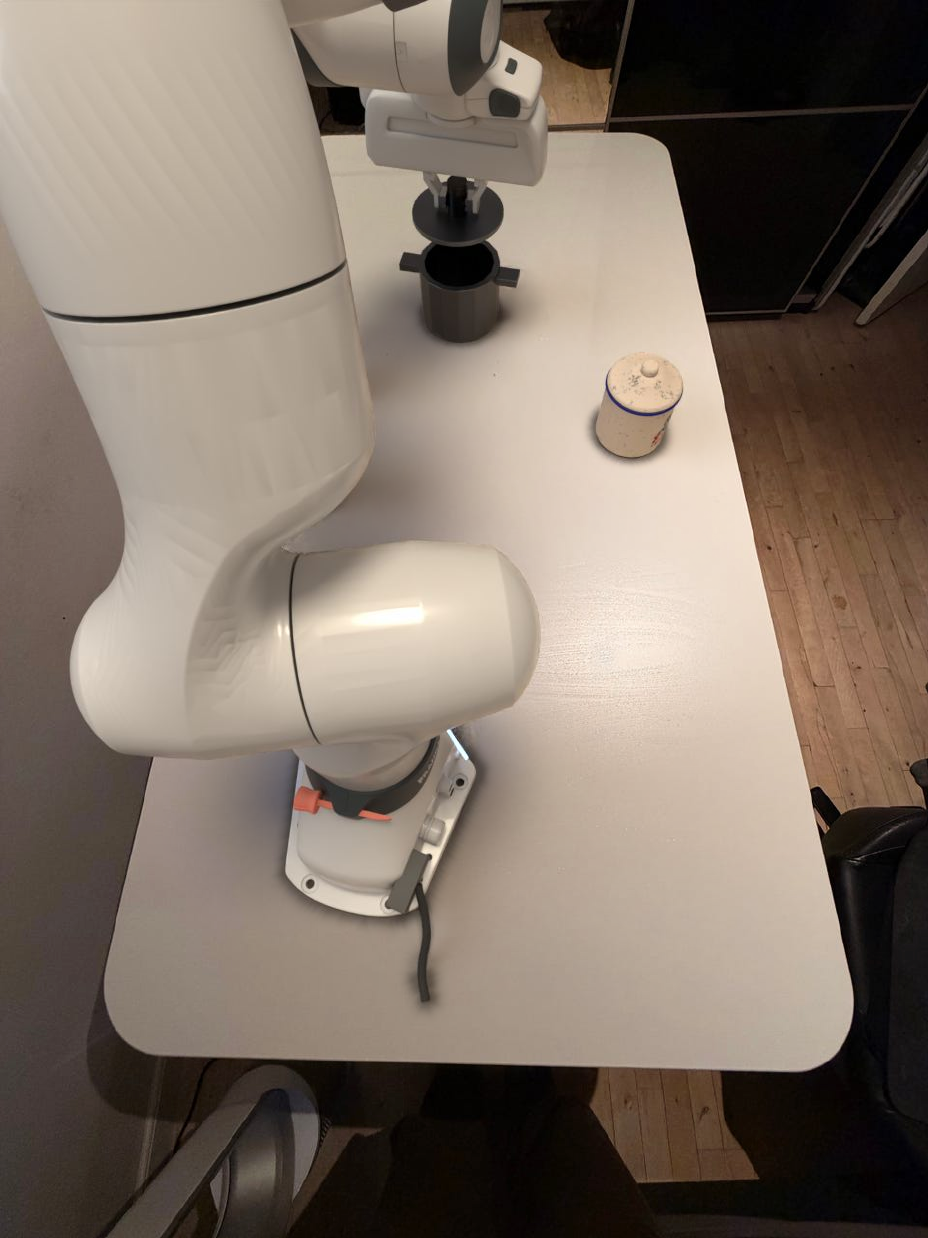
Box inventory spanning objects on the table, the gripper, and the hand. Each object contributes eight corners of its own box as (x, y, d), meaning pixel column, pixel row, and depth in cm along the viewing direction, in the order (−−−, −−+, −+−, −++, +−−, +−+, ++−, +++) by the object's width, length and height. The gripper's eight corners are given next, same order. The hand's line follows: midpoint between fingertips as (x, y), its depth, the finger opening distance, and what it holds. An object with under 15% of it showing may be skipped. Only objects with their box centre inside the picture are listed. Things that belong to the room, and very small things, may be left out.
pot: (507, 351, 89) (510, 299, 81) (397, 333, 90) (389, 280, 82) (522, 296, 92) (526, 242, 85) (416, 280, 94) (410, 225, 86)
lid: (493, 257, 76) (494, 219, 71) (402, 244, 77) (398, 206, 73) (511, 195, 80) (513, 156, 76) (425, 183, 81) (422, 144, 77)
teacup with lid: (662, 463, 81) (691, 399, 70) (591, 456, 82) (608, 391, 71) (664, 390, 85) (691, 319, 75) (596, 383, 86) (614, 312, 75)
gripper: (346, 79, 64) (367, 212, 77) (547, 103, 62) (534, 237, 75) (364, 43, 66) (382, 179, 79) (558, 66, 64) (544, 201, 77)
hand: (457, 207), depth 77 cm, fingers closed on lid, 2 cm apart
